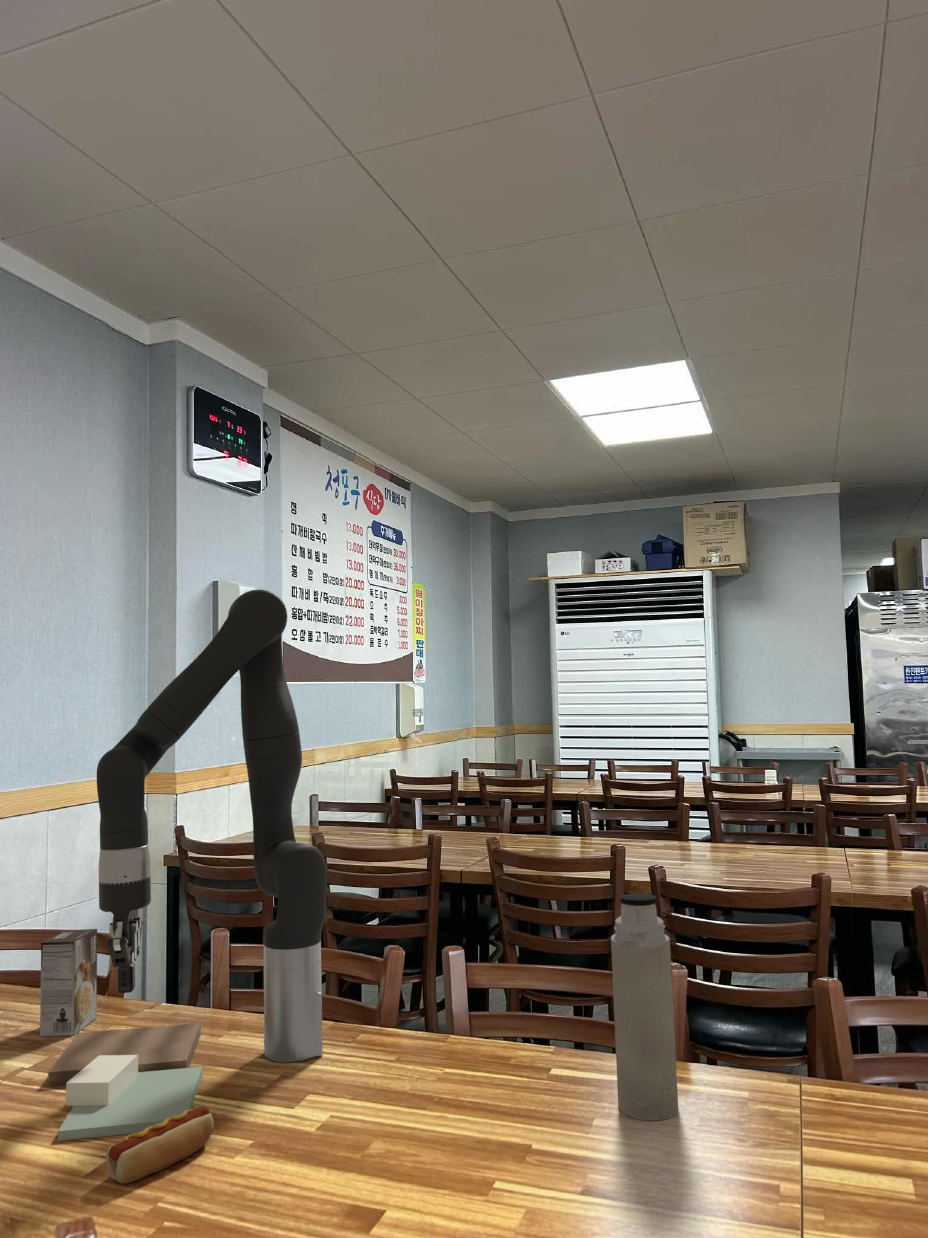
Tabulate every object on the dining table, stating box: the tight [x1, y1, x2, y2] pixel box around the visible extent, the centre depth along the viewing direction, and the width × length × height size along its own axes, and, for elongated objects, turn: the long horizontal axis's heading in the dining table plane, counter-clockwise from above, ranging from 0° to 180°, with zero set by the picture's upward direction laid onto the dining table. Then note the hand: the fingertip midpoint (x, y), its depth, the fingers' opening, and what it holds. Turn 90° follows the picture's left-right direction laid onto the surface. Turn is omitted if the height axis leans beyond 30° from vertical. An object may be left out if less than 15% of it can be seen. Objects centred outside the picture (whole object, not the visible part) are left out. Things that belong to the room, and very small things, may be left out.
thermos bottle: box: [610, 892, 679, 1121], centre depth 123 cm, size 8×8×28 cm
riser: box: [47, 1022, 202, 1087], centre depth 144 cm, size 20×17×2 cm
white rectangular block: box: [65, 1055, 138, 1107], centre depth 129 cm, size 6×10×3 cm, turn 177°
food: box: [105, 1105, 214, 1184], centre depth 110 cm, size 14×6×5 cm, turn 143°
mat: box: [57, 1066, 203, 1142], centre depth 127 cm, size 16×18×1 cm
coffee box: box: [39, 928, 98, 1037], centre depth 161 cm, size 9×6×16 cm
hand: (126, 991), depth 137 cm, fingers closed
